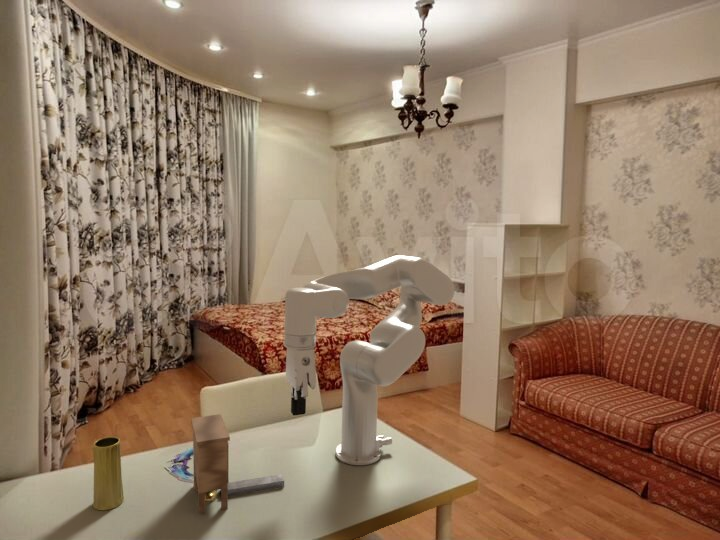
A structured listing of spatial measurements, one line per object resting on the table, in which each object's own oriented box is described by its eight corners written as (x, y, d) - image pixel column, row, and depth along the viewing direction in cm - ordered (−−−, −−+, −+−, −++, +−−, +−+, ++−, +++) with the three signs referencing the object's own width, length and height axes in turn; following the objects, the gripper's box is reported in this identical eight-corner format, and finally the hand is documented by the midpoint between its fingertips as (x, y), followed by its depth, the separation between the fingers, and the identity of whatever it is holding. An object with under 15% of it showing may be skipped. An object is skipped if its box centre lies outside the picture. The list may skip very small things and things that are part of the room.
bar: (281, 482, 119) (281, 474, 119) (284, 488, 116) (284, 480, 116) (220, 491, 114) (220, 484, 114) (221, 499, 111) (221, 490, 111)
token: (215, 492, 113) (215, 487, 113) (218, 501, 110) (217, 496, 110) (197, 496, 112) (197, 491, 112) (199, 505, 108) (199, 500, 108)
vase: (102, 494, 111) (101, 434, 109) (129, 495, 111) (127, 436, 109) (87, 510, 105) (84, 447, 103) (114, 511, 105) (113, 449, 103)
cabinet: (221, 480, 118) (220, 414, 116) (229, 509, 106) (229, 436, 105) (191, 485, 115) (191, 418, 113) (197, 516, 104) (196, 442, 102)
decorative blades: (173, 444, 134) (210, 442, 136) (173, 447, 134) (210, 445, 136) (154, 483, 115) (198, 480, 117) (154, 486, 115) (198, 484, 117)
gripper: (325, 346, 110) (323, 423, 112) (305, 331, 124) (303, 400, 126) (293, 349, 107) (291, 428, 109) (276, 333, 121) (275, 404, 123)
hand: (298, 413), depth 117 cm, fingers closed
